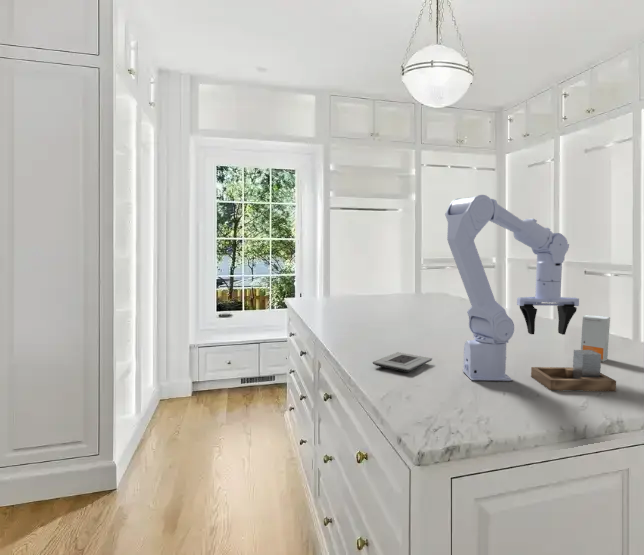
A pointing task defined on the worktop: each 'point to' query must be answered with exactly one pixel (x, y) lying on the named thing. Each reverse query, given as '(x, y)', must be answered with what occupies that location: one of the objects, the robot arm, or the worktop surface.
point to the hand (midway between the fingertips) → (546, 333)
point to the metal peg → (586, 364)
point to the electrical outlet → (402, 361)
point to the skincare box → (595, 334)
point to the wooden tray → (571, 380)
